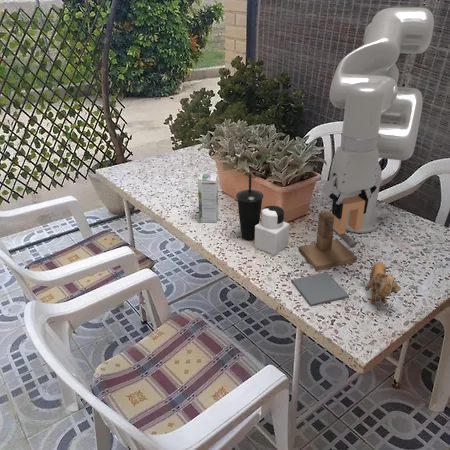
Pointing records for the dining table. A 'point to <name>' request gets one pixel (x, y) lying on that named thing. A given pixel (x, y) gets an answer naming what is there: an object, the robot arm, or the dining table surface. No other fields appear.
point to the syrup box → (208, 197)
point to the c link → (356, 214)
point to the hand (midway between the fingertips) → (348, 213)
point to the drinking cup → (249, 211)
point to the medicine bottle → (272, 230)
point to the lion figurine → (381, 283)
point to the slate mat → (319, 289)
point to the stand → (328, 246)
